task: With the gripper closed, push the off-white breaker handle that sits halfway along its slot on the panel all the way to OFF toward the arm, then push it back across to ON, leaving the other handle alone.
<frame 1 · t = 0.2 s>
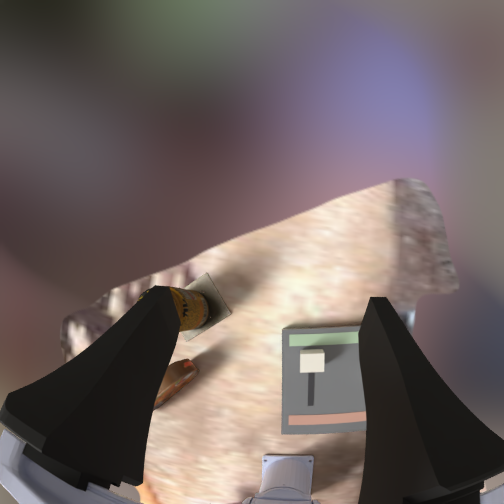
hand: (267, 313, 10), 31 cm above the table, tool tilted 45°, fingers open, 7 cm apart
condiment: (197, 307, 43), on the table
tin: (170, 385, 41), on the table
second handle: (311, 360, 34), point 4 cm above the table, slide at 6.0 cm
breaker panel: (341, 379, 37), on the table
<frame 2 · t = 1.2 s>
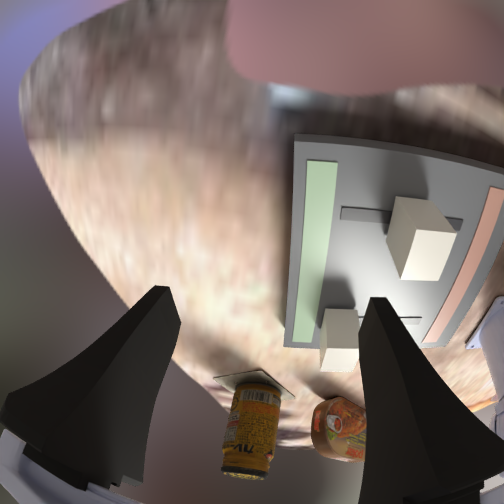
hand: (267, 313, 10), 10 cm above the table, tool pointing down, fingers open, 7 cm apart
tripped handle: (418, 237, 13), point 4 cm above the table, slide at 3.0 cm
condiment: (255, 387, 34), on the table
tin: (346, 406, 35), on the table
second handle: (339, 340, 19), point 4 cm above the table, slide at 6.0 cm
breaker panel: (396, 259, 19), on the table
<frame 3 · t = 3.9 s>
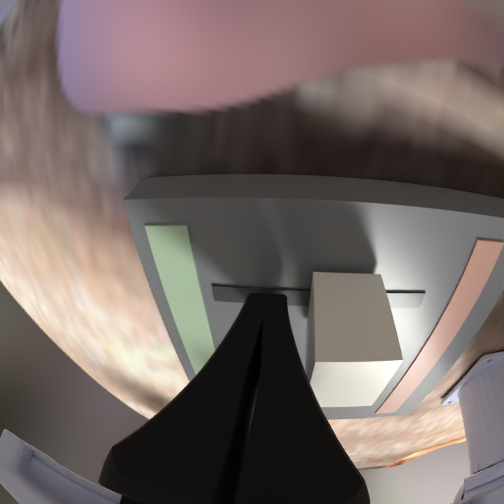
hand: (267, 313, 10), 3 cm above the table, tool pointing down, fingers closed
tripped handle: (345, 341, 9), point 4 cm above the table, slide at 2.3 cm, touching gripper
breaker panel: (329, 330, 15), on the table
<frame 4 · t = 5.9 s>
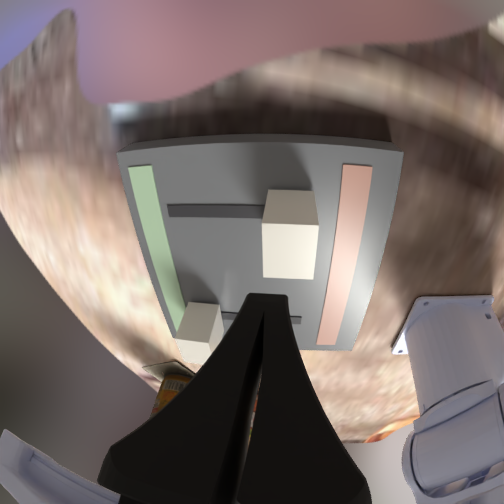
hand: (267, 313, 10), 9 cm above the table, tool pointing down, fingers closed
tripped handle: (290, 232, 14), point 4 cm above the table, slide at -0.1 cm
condiment: (181, 378, 35), on the table
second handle: (201, 334, 20), point 4 cm above the table, slide at 6.0 cm
breaker panel: (260, 254, 20), on the table
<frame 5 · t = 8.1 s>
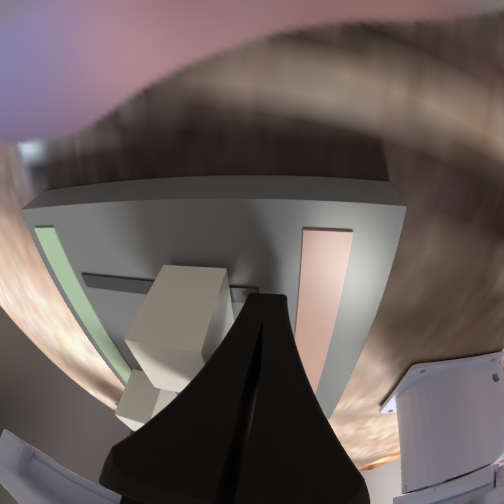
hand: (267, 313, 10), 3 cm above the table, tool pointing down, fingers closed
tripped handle: (188, 331, 10), point 4 cm above the table, slide at 1.1 cm, touching gripper
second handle: (148, 405, 16), point 4 cm above the table, slide at 6.0 cm
breaker panel: (208, 323, 16), on the table
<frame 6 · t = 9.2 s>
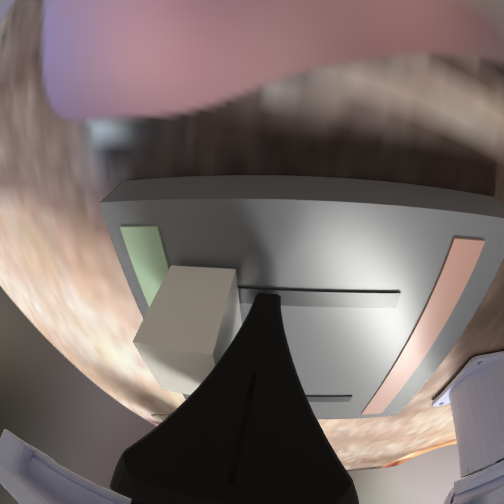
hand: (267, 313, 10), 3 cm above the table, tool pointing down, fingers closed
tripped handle: (196, 332, 9), point 4 cm above the table, slide at 6.2 cm, touching gripper
breaker panel: (308, 330, 15), on the table
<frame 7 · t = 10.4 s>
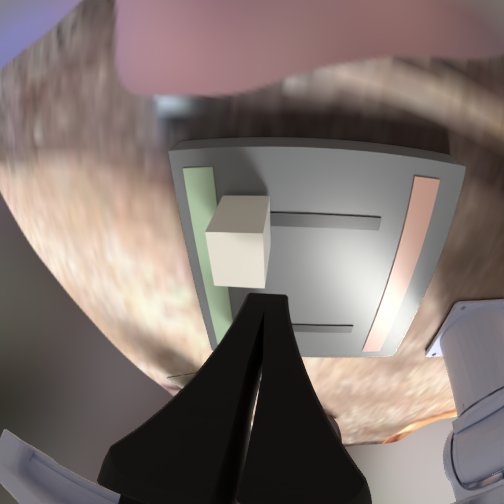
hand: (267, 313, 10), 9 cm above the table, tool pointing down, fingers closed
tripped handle: (242, 239, 14), point 4 cm above the table, slide at 6.1 cm
condiment: (209, 388, 34), on the table
breaker panel: (315, 263, 19), on the table
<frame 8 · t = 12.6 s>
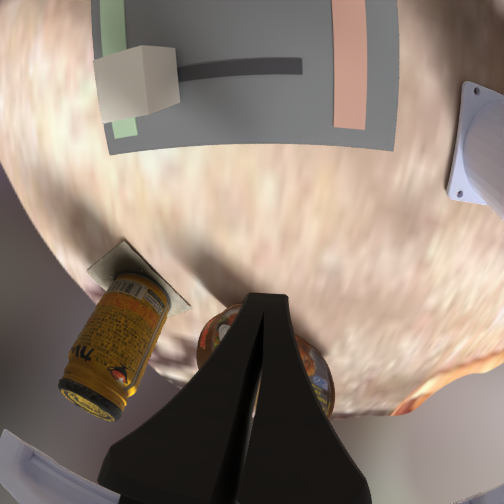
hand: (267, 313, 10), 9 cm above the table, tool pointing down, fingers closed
condiment: (137, 286, 25), on the table
tin: (279, 334, 26), on the table
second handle: (139, 81, 10), point 4 cm above the table, slide at 6.0 cm
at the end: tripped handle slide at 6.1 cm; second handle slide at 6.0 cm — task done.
